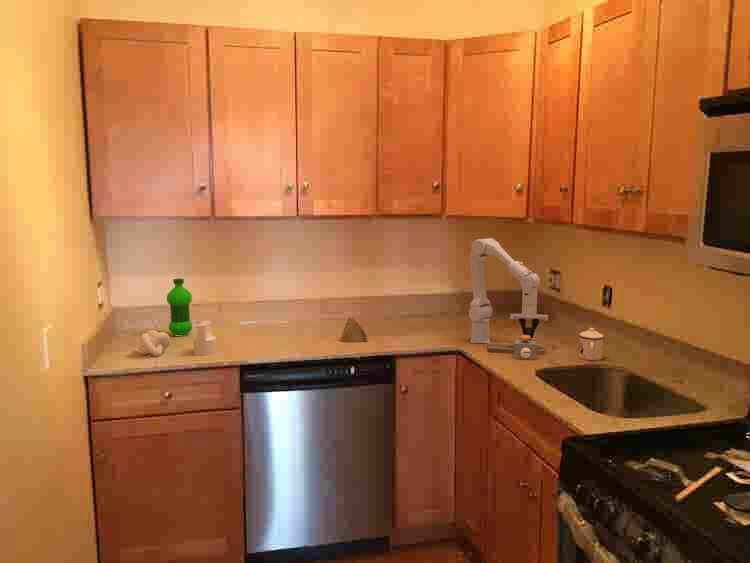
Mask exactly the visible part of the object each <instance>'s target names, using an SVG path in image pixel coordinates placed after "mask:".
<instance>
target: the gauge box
mask: <svg viewBox="0 0 750 563" xmlns="http://www.w3.org/2000/svg"><path fill="white" fill-rule="evenodd" d="M513 343H514V353H513V357H514V359H515V360H530V359H536V360H537V354H536V349H537V340H536V341H530V340H527V343H524V340H520V339H514V341H513Z"/></svg>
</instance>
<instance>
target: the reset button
mask: <svg viewBox="0 0 750 563" xmlns="http://www.w3.org/2000/svg"><path fill="white" fill-rule="evenodd" d="M520 338H521V339H522V340H524V343H527V340H530V336H529V335H523V334H521V335H520Z"/></svg>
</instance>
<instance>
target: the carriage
mask: <svg viewBox="0 0 750 563" xmlns="http://www.w3.org/2000/svg"><path fill="white" fill-rule="evenodd" d="M531 330H532V326H531V327H530V326H525V335H529V336H530V341H536V342H537V340H536V338H535V337H533V338H531ZM519 340H522V339H521V337H519Z"/></svg>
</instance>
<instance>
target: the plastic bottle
mask: <svg viewBox="0 0 750 563" xmlns="http://www.w3.org/2000/svg"><path fill="white" fill-rule="evenodd" d="M184 282H185V280H184V278H173V284H174V287H173V288H172V289H171V290H170V291H169V292H168V293H167V295H166V302H167V304H168V305H169V306H170V307H169V308H170V322H169V325H168V329H169V331H170V332H171V334H173V335H174V336H175V335H179V336H178V337H181V336H180V335H185V336H187V335H188V334H189V333H190V332H191V331H192V329H193V323H192V321H191V320H190V318H191V317H190V304H191V302H192V299H193V295H192V293H191V292H190V291H189V290H188V289H187V288H185V287H184V286H183V284H184ZM186 334H187V335H186Z"/></svg>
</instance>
